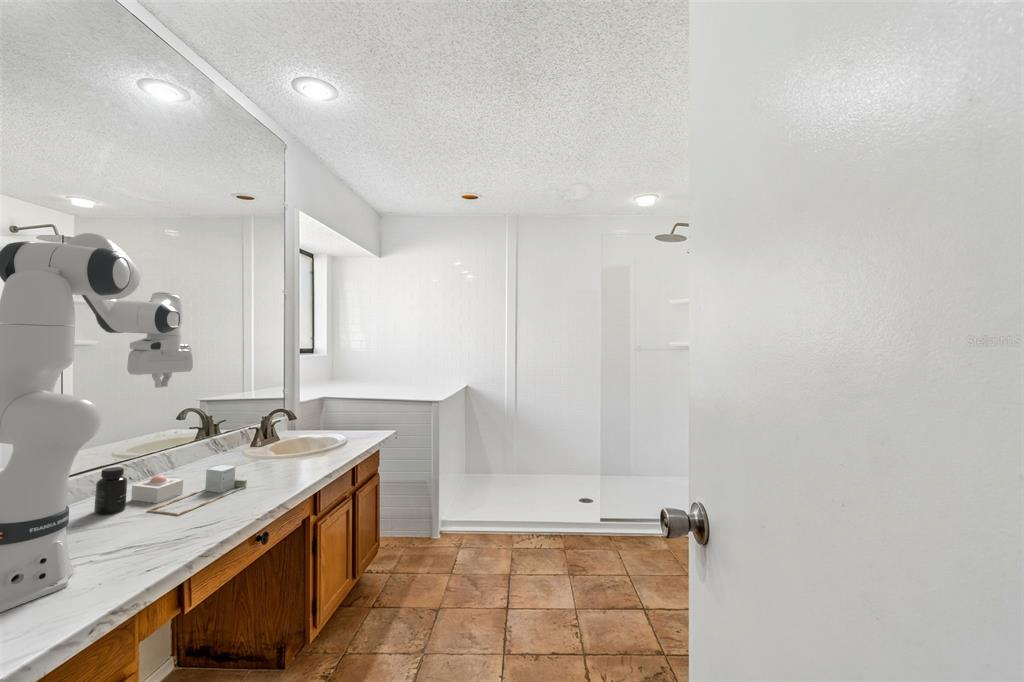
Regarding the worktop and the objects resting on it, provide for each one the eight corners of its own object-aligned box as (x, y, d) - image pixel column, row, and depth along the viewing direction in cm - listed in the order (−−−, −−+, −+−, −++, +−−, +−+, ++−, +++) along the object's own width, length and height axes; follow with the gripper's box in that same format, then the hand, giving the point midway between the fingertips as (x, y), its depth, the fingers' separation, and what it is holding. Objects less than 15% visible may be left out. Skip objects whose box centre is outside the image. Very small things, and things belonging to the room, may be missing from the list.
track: (178, 515, 131) (178, 507, 131) (146, 512, 132) (146, 503, 132) (246, 487, 157) (246, 480, 157) (219, 484, 159) (219, 477, 159)
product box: (220, 493, 150) (221, 471, 150) (204, 491, 151) (205, 469, 151) (234, 487, 156) (236, 466, 156) (219, 485, 157) (220, 464, 157)
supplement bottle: (127, 511, 132) (129, 469, 132) (95, 517, 127) (98, 473, 127) (123, 504, 136) (126, 464, 136) (92, 510, 131) (95, 468, 131)
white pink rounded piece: (157, 499, 141) (158, 478, 141) (141, 497, 142) (142, 477, 142) (173, 493, 146) (174, 473, 146) (157, 491, 147) (159, 472, 147)
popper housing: (157, 503, 139) (157, 488, 139) (131, 500, 140) (132, 485, 140) (182, 493, 148) (183, 479, 148) (158, 490, 149) (158, 477, 149)
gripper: (182, 343, 157) (180, 383, 157) (124, 343, 137) (121, 389, 137) (199, 344, 157) (196, 385, 156) (142, 344, 136) (140, 390, 136)
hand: (161, 387), depth 147 cm, fingers closed
